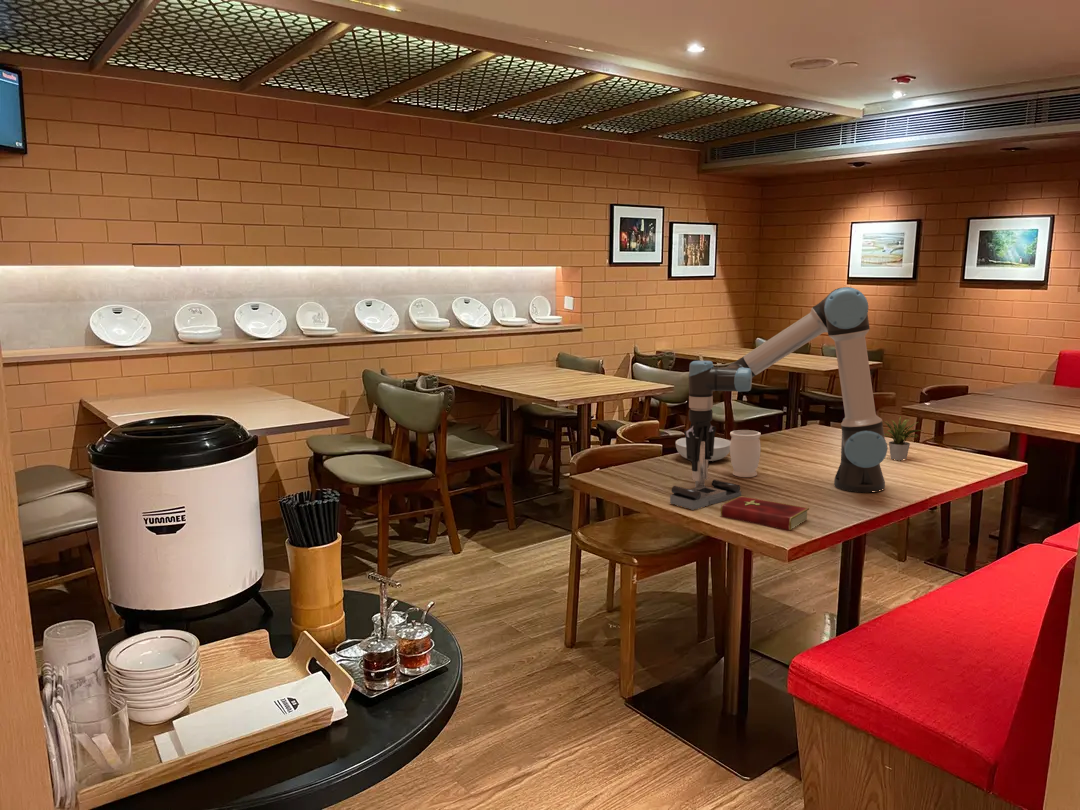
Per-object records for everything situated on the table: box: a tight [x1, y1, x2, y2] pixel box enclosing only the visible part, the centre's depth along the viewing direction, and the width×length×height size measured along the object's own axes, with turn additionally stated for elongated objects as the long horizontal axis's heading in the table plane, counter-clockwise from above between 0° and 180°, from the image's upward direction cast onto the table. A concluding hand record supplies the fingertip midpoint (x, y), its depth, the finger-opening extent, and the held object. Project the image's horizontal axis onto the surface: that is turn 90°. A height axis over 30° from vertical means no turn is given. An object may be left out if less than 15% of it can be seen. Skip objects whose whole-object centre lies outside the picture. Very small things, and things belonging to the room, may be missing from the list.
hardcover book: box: [720, 495, 810, 531], centre depth 217 cm, size 12×21×4 cm, turn 48°
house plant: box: [882, 415, 924, 461], centre depth 281 cm, size 14×14×16 cm
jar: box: [729, 429, 762, 478], centre depth 265 cm, size 11×10×15 cm
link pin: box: [694, 440, 706, 488], centre depth 249 cm, size 3×3×16 cm
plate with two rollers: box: [669, 479, 742, 511], centre depth 237 cm, size 9×23×5 cm, turn 128°
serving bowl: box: [675, 437, 731, 462], centre depth 290 cm, size 21×21×7 cm
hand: (700, 479), depth 250 cm, fingers closed on link pin, 3 cm apart
